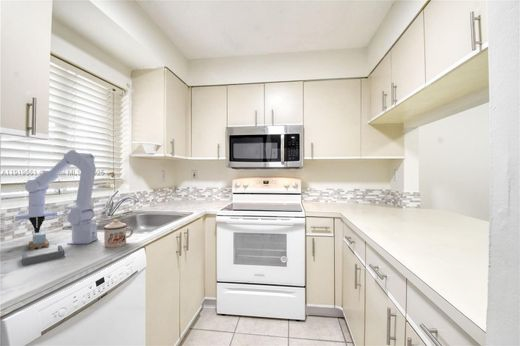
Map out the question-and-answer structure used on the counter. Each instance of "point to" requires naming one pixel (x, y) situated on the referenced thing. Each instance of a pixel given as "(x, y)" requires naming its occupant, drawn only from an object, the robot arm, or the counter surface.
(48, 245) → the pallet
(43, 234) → the pale blue cube
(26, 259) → the dock
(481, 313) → the counter surface
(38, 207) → the robot arm
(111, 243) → the teacup with lid
